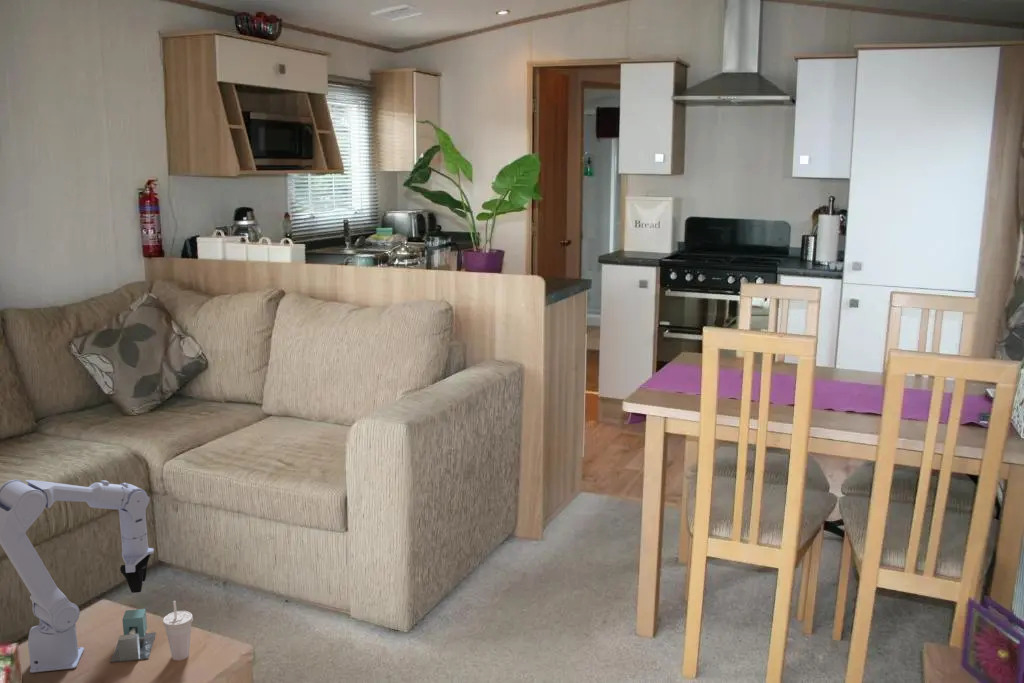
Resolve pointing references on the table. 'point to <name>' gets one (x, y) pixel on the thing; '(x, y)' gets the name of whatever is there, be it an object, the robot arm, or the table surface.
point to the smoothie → (178, 632)
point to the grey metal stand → (133, 646)
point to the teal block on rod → (135, 621)
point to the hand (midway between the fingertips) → (138, 586)
